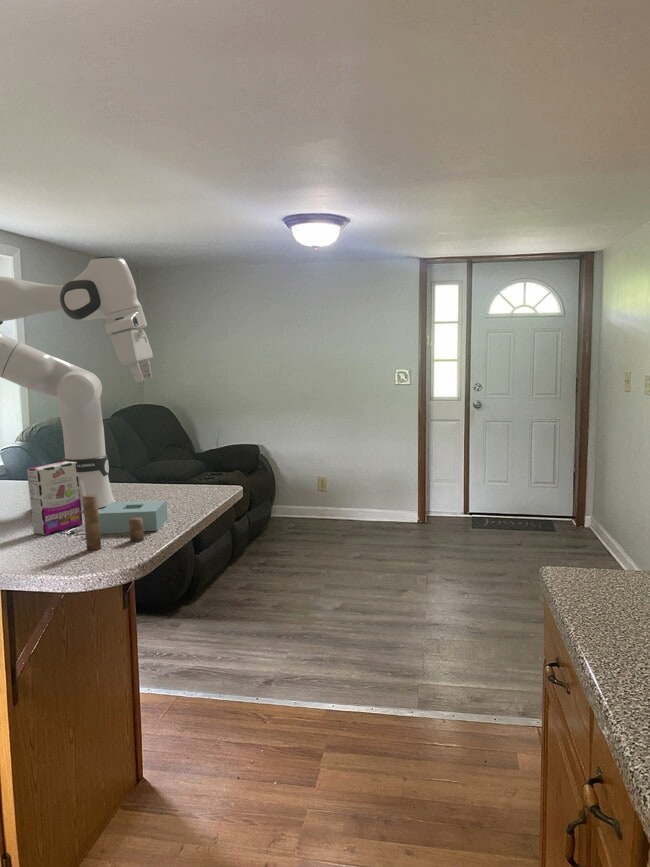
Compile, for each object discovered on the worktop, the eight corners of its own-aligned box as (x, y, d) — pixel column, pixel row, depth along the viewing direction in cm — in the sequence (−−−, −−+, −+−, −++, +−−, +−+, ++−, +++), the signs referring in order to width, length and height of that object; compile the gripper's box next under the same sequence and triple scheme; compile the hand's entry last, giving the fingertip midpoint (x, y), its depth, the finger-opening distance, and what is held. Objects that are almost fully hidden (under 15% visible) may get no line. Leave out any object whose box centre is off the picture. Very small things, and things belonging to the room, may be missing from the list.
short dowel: (129, 542, 150) (127, 520, 149) (132, 538, 153) (130, 517, 152) (142, 541, 150) (140, 520, 149) (145, 538, 153) (143, 517, 152)
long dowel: (85, 551, 144) (80, 497, 142) (89, 547, 147) (85, 494, 145) (98, 550, 144) (94, 497, 142) (103, 546, 147) (98, 494, 145)
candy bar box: (70, 523, 170) (65, 460, 168) (83, 525, 167) (78, 461, 165) (31, 533, 160) (25, 467, 158) (44, 536, 158) (38, 469, 156)
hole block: (98, 533, 158) (97, 513, 157) (113, 521, 170) (111, 502, 169) (157, 531, 158) (155, 511, 158) (167, 519, 170) (166, 500, 170)
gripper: (124, 327, 166) (141, 380, 168) (102, 327, 145) (121, 387, 148) (149, 320, 166) (165, 373, 168) (130, 319, 145) (148, 380, 148)
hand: (144, 380), depth 158 cm, fingers open, 8 cm apart
